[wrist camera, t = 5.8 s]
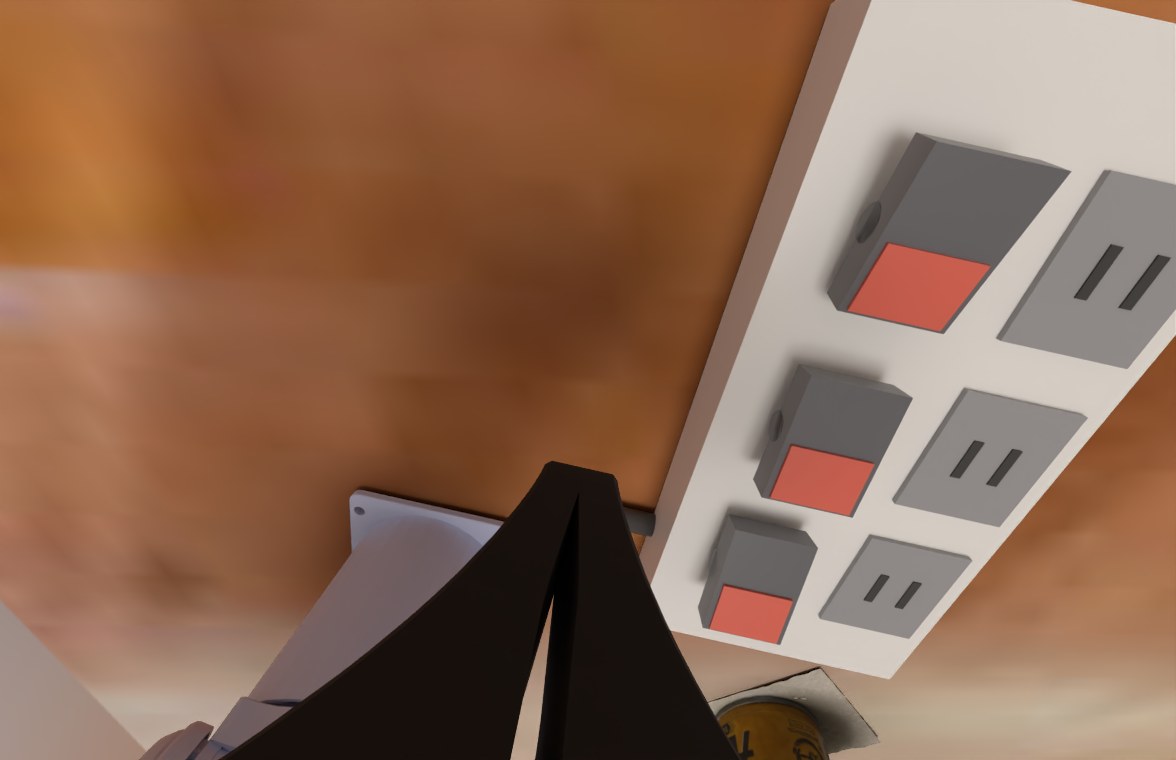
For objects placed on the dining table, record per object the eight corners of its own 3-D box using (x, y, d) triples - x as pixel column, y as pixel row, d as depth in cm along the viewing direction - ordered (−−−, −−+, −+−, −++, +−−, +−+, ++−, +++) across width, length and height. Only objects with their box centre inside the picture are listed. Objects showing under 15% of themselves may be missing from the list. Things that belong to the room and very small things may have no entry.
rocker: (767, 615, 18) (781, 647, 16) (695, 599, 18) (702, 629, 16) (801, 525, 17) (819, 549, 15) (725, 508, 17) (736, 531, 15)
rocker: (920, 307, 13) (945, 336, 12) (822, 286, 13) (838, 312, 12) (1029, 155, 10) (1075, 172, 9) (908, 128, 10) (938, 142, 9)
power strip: (857, 612, 22) (892, 685, 19) (554, 544, 22) (541, 606, 19) (1222, 91, 13) (1411, 70, 10) (684, -29, 13) (699, -89, 10)
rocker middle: (833, 491, 15) (854, 519, 14) (750, 472, 15) (762, 499, 14) (886, 380, 14) (915, 399, 12) (794, 359, 14) (813, 376, 12)
